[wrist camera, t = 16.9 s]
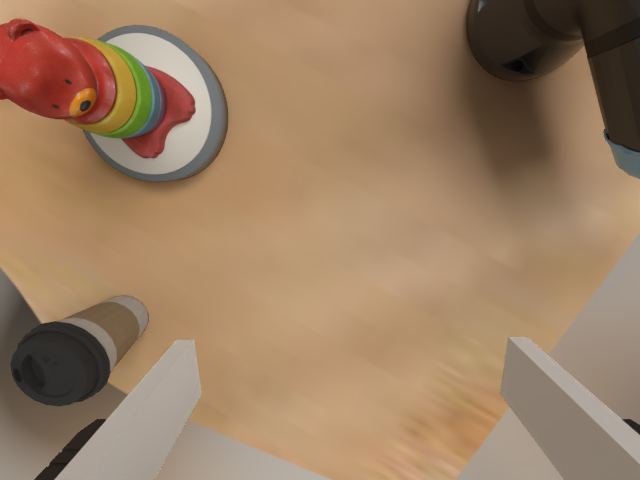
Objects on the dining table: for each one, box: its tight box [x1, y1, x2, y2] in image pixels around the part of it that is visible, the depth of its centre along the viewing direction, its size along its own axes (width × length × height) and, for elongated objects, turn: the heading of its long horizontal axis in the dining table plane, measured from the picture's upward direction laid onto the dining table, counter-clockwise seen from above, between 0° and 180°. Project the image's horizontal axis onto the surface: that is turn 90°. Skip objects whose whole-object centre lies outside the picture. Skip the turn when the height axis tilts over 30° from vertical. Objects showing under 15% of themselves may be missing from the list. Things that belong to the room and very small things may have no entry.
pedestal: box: [83, 25, 228, 182], centre depth 41 cm, size 19×19×4 cm
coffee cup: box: [11, 296, 149, 406], centre depth 43 cm, size 11×11×15 cm
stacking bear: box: [0, 19, 196, 158], centre depth 30 cm, size 11×10×18 cm
